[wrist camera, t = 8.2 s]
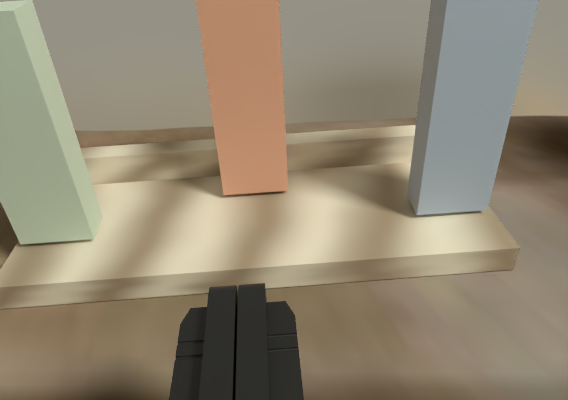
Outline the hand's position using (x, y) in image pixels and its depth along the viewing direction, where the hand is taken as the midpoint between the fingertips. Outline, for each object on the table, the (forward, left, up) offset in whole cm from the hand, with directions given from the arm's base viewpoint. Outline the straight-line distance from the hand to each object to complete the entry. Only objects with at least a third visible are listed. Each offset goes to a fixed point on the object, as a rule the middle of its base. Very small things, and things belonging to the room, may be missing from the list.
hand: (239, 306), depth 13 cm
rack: (0, +15, -8) cm, 17 cm away
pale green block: (-11, +13, -6) cm, 18 cm away
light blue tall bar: (+11, +13, -6) cm, 18 cm away
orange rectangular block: (0, +16, -6) cm, 17 cm away
